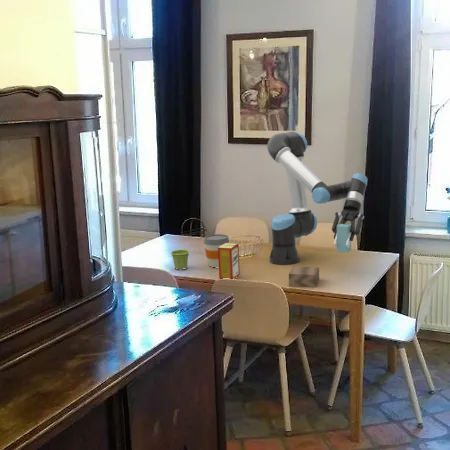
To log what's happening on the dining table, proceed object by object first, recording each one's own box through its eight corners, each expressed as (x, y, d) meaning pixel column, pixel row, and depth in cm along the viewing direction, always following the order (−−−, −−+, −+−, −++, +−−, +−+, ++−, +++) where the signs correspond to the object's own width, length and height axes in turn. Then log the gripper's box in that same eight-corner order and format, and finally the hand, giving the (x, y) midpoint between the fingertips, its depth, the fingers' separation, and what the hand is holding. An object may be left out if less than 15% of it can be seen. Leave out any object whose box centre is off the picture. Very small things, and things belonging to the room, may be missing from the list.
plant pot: (193, 266, 324) (192, 249, 323) (186, 271, 316) (185, 254, 314) (176, 265, 328) (175, 249, 326) (168, 270, 319) (167, 253, 317)
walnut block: (289, 286, 285) (288, 274, 283) (293, 279, 296) (293, 266, 295) (315, 287, 281) (315, 274, 280) (319, 279, 293) (319, 267, 291)
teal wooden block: (336, 251, 289) (336, 226, 286) (340, 249, 293) (340, 223, 291) (347, 252, 286) (347, 226, 284) (351, 250, 291) (351, 224, 288)
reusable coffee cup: (201, 268, 320) (200, 239, 317) (210, 261, 331) (209, 233, 328) (225, 269, 316) (223, 240, 313) (233, 263, 327) (232, 234, 324)
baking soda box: (232, 280, 297) (230, 247, 293) (219, 279, 299) (217, 246, 296) (239, 275, 305) (238, 242, 302) (227, 274, 308) (225, 242, 304)
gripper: (373, 209, 295) (362, 252, 284) (336, 206, 304) (324, 248, 293) (370, 199, 289) (358, 243, 279) (332, 197, 298) (320, 239, 288)
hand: (341, 245), depth 286 cm, fingers closed on teal wooden block, 5 cm apart
